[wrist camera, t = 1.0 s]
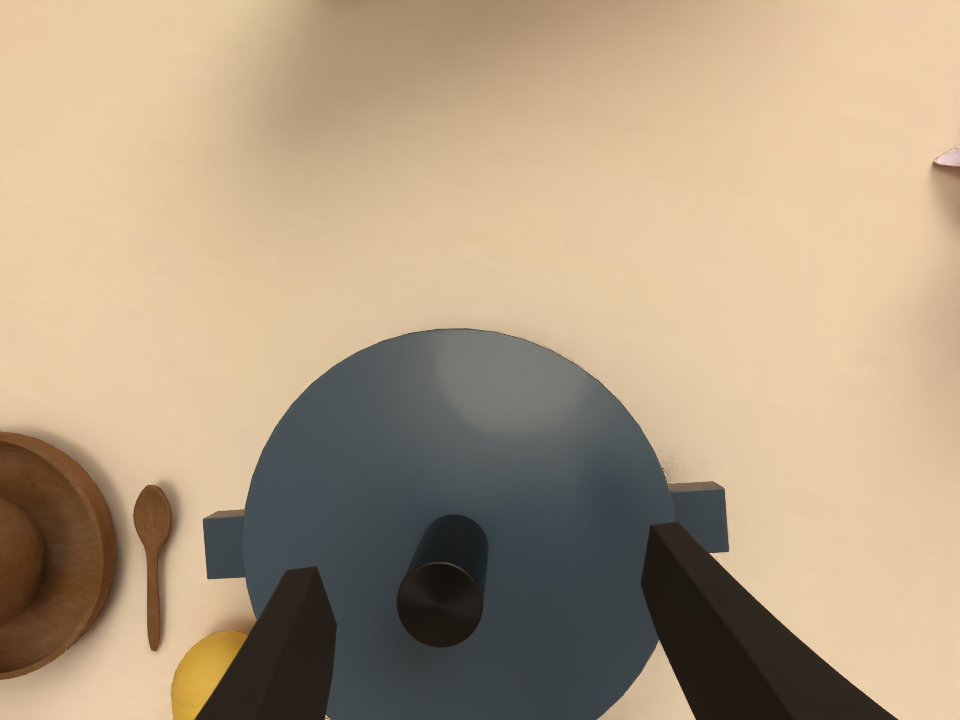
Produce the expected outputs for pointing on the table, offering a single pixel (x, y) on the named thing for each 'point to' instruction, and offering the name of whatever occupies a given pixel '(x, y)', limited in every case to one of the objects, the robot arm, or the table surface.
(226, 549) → the pot
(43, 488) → the place setting
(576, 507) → the pot lid
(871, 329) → the table surface
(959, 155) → the water lily
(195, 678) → the yellow rounded capsule
